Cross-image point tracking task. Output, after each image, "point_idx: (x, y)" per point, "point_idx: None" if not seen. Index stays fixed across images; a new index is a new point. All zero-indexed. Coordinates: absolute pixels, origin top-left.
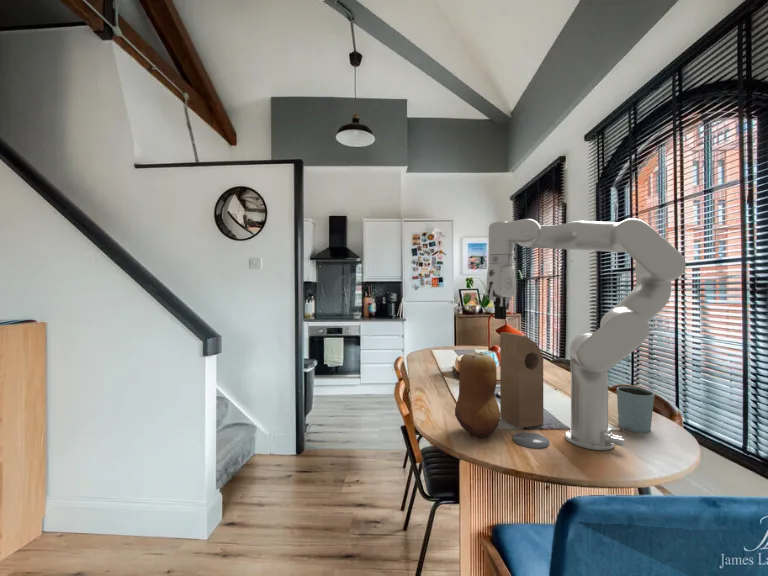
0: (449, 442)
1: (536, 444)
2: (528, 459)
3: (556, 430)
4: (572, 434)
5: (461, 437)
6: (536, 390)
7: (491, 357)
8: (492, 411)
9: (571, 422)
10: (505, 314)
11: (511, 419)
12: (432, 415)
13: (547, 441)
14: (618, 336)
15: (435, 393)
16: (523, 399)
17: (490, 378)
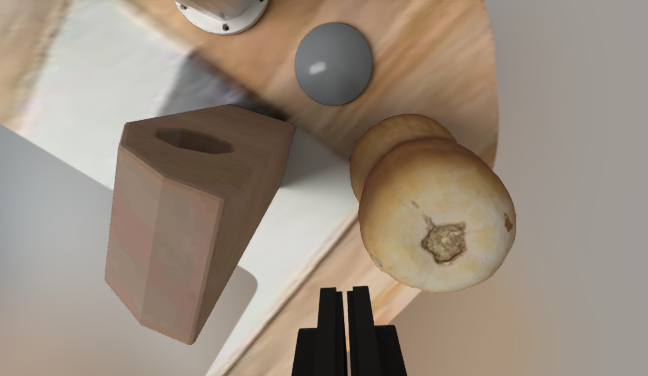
0: None
1: (350, 38)
2: (421, 10)
3: (228, 67)
4: (248, 3)
5: None
6: (218, 118)
7: (407, 200)
8: (420, 122)
9: (235, 2)
10: (333, 312)
11: (288, 151)
12: (388, 281)
13: (314, 33)
14: None
15: (275, 370)
16: (270, 130)
17: (448, 144)
